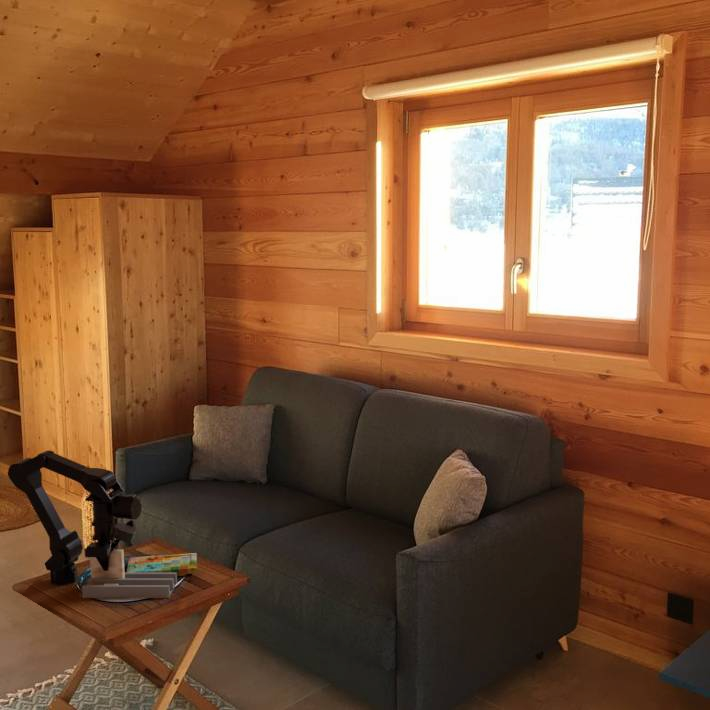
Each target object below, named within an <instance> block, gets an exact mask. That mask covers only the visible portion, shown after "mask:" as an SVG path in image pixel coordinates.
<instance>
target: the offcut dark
mask: <svg viewBox="0 0 710 710" xmlns="http://www.w3.org/2000/svg"><path fill="white" fill-rule="evenodd" d="M86 585H103V582H88V583H86Z"/></svg>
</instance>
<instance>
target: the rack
mask: <svg viewBox="0 0 710 710" xmlns="http://www.w3.org/2000/svg"><path fill="white" fill-rule="evenodd" d="M86 581H87V582H86V584H83V585H82V586H81V593H82V598H83V599H93V598H94V599H117V598H118V599H119V598H120V599H169V598H170V596H171V595H172V593H173V591H174V589H175V587H176V585H177V583H178V576H177V572H127V571H125V578H91V577H89V578H87V579H86ZM88 582H103V585H87V584H88ZM104 583H108V584H119V585H104Z"/></svg>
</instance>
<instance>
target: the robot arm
mask: <svg viewBox="0 0 710 710" xmlns="http://www.w3.org/2000/svg"><path fill="white" fill-rule="evenodd" d="M43 468H44V469H46V470H49V471H51V472H54V473H56V474H58V475H61V476H62V477H65V478H68V479H69V480H73V481H75V482H77V483H79V484H80V485H81V486H82V488H83V489H84V490H85V491H87V492H88V493H89V495H88V496H87V497H86V498H85V499H84V500H85V502H91V503H92V511H93V513H92V514H93V515H92V516H93V521H92V522H91V527H93V528H94V529H93V530H94V531H93V532H94V534H93V535H92V541H93V542H92V541H91V542H90V543H89V544H88V545H87V547H86V548H84V546H83V544H82V543H83V540H82V539H81V538H80V536H79V534H78V532H77V530H73V531H70V530H68V528H66V526H65V525H64V523H63V521H62V519H61V517H60V516H59V513H58V512H57V510H56V508H55V507H54V504H53V503H52V501H51V499H50V497H49V495H48V493H47V492H46V490H45V488H44V486H43V484H42V481H43V479H42V478H43V476H42V475H43V473H42V471H41V469H43ZM115 475H116V474H115V473H114V472H113V471H112V470H109V469H105V468H101V467H90V466H86V465H83V464H81V463H78V462H76V461H74V460H72V459H69V458H67V457H64V456H63V455H59V454H58V453H55V452H54V451H53V450H49V449H48V450H46V451H45V450H44V451H43V452H41V453H39V454H36V456H34V457H32V458H31V457H26V458H23V459H20V460H19V461H17V462H14V463H12V464H11V465H9V467H8V470H7V476H8V478H9V480H10V481H11V483H12V484H13V485H14V486H15V488H16V489H18V490H20V491H21V492H23V493H24V494H25V495H26V497H27V499H28V501H29V502H30V504H31V506H32V508H33V509H34V511H35V514H36V515H37V517H38V519H39V521H40V523H41V525H42V526H43V528H44V530H45V532H46V534H47V535H48V538H49V543H48V545H49V547H48V548H49V551H50V554H51V556H50V557H49V558H48V559H47V560H46V561H45V562H44V567H45V569H46V570H47V571H49V572H50V584H53V585H56V586H65V585H69V584H75V583H77V581H78V580H79V576H78V575H79V574H78V568H76V563H75V562H77V561H79V558H80V555H82V554H83V549H84V557H85V558H90V557H96V559H97V560H98V562H99V563H100V565H101V567H102V568H103V570H104V571H108V568H109V559H110V553H112V551H113V550H114V549H116V547H117V546H118V545H119V544H120V542H124V543H125V544H128V545H129V544H131V543H132V541H134V539H135V536H136V533H137V531H138V527H137V525H136V521H135V520H138V519H139V518H140V515H141V513H142V506H143V505H142V503H141V501H140V499H139V498H138V497H137V496H138V495H137V494H134V493H131V494H126V493H125V492H126V491H125V489H124V488H123V486H122V485H121V483H120V482H119V481H118V480H117V478H116V476H115ZM111 490H112V491H111ZM109 491H110V492H109ZM119 519H124V520H127V522H124V521H123V523H122V522H120V521H119ZM94 541H95V542H94Z"/></svg>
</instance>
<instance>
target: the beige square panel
mask: <svg viewBox="0 0 710 710" xmlns="http://www.w3.org/2000/svg"><path fill="white" fill-rule="evenodd" d="M124 555H125V554H124V549H123V548H122V549H119V548H118V549H116V548H115V549H114V550H113V551H112V553H110V559H109V568H108V571H104V570H103V568H102V567H101V565H100V563H99V562H98V560H97V559H96V557H89V567H90V568H89V569H90V578H125V572H126V571H125V558H124V557H125V556H124Z"/></svg>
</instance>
